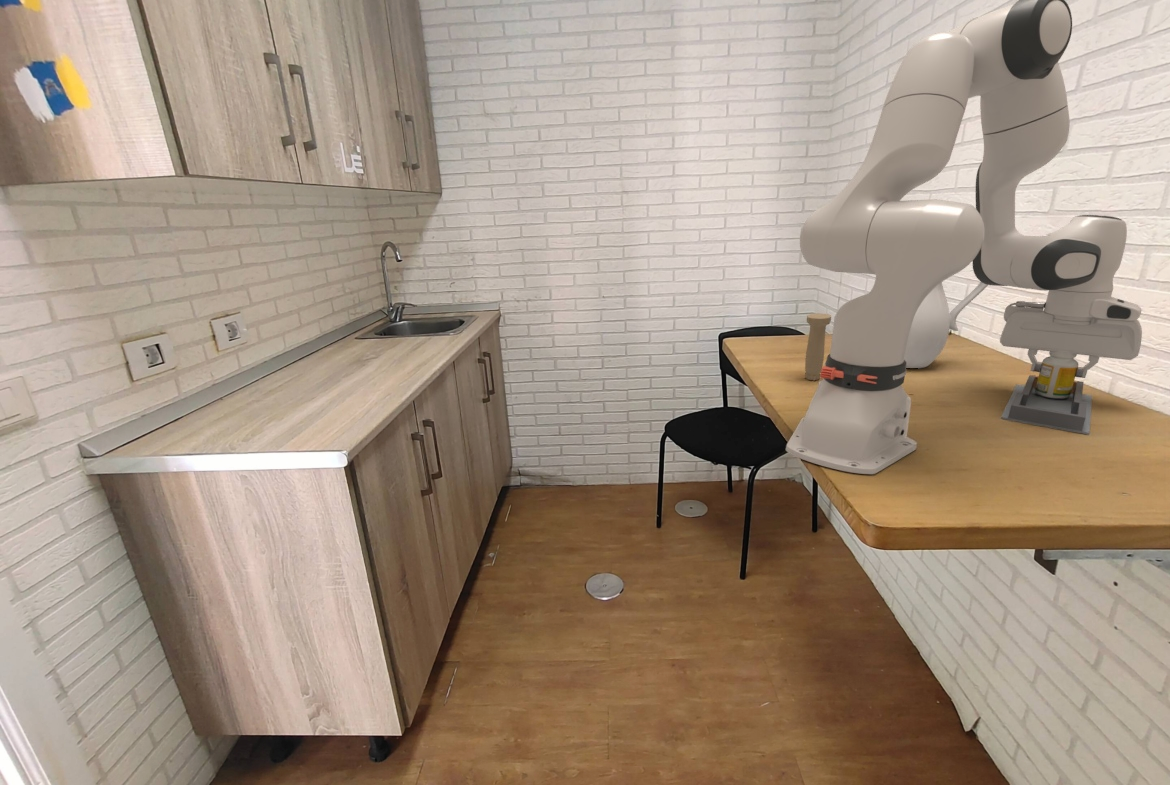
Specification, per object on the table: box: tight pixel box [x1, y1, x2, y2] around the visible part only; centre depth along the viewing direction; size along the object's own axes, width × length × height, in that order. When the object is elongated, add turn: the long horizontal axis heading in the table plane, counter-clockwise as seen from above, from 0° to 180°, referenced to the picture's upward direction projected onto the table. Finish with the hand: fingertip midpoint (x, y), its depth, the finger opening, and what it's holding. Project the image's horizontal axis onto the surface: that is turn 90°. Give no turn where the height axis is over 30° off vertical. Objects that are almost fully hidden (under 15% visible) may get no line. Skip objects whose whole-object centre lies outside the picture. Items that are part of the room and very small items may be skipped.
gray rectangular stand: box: [1000, 374, 1093, 436], centre depth 100 cm, size 24×12×3 cm, turn 137°
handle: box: [804, 312, 832, 381], centre depth 120 cm, size 5×6×15 cm
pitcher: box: [904, 281, 989, 369], centre depth 126 cm, size 24×17×28 cm
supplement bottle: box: [1035, 350, 1079, 399], centre depth 103 cm, size 5×5×10 cm
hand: (1057, 373), depth 104 cm, fingers closed on supplement bottle, 5 cm apart
